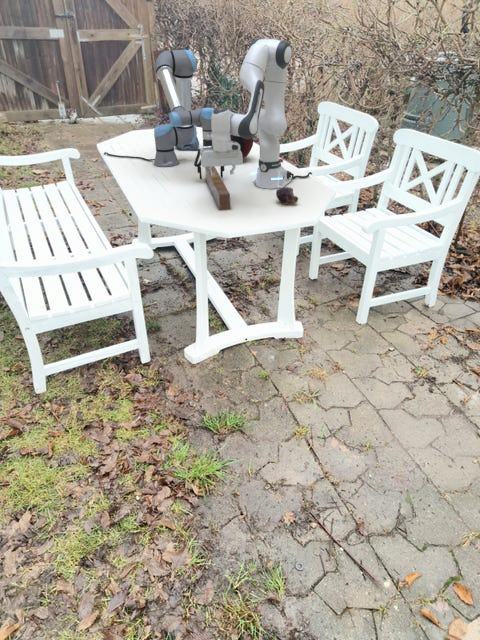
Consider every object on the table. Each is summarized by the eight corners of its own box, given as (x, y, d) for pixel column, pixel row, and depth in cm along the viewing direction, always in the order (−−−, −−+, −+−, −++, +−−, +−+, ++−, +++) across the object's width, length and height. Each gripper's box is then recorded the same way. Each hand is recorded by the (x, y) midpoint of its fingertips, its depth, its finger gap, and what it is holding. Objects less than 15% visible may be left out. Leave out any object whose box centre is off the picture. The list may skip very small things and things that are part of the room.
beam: (205, 179, 267) (205, 165, 262) (214, 178, 268) (214, 165, 263) (219, 210, 225) (219, 194, 221) (230, 209, 226) (229, 194, 222)
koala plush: (199, 150, 321) (197, 121, 310) (174, 151, 320) (171, 121, 309) (199, 144, 335) (197, 116, 324) (175, 145, 334) (172, 117, 323)
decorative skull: (214, 132, 305) (214, 129, 282) (248, 124, 304) (250, 121, 281) (221, 164, 312) (221, 164, 288) (254, 157, 311) (257, 156, 288)
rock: (287, 200, 238) (271, 203, 234) (287, 184, 235) (271, 186, 231) (300, 203, 229) (283, 206, 225) (300, 186, 225) (283, 189, 221)
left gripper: (188, 141, 245) (191, 181, 257) (231, 139, 249) (232, 178, 261) (187, 138, 251) (190, 177, 263) (229, 136, 255) (230, 174, 267)
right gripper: (200, 148, 208) (202, 178, 216) (243, 145, 212) (243, 175, 219) (198, 145, 213) (200, 174, 221) (240, 142, 217) (241, 171, 224)
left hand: (211, 177), depth 262 cm, fingers open, 12 cm apart
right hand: (222, 174), depth 220 cm, fingers open, 8 cm apart
